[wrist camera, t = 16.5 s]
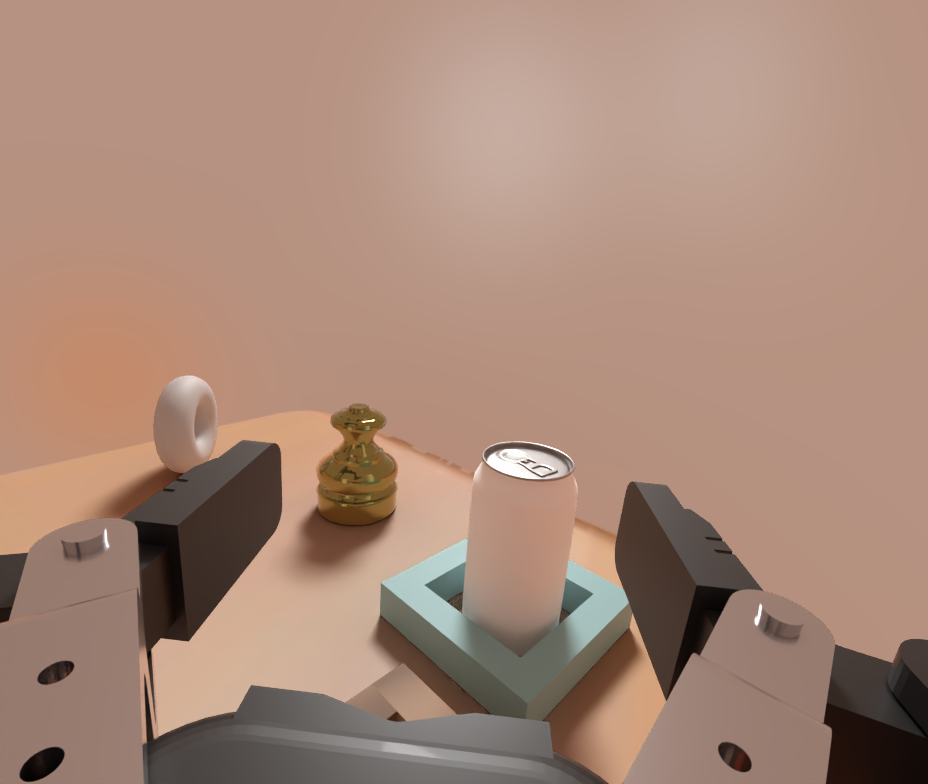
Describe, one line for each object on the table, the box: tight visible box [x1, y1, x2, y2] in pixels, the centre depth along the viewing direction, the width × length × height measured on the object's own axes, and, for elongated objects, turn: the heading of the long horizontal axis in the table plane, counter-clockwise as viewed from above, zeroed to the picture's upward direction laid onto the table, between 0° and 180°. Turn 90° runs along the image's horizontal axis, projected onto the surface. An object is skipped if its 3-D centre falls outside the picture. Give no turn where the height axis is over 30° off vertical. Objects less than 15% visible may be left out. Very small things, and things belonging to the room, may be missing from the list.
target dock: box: [380, 538, 632, 721], centre depth 32 cm, size 12×12×2 cm
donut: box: [153, 375, 218, 473], centre depth 49 cm, size 10×4×10 cm, turn 9°
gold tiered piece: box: [316, 404, 398, 525], centre depth 45 cm, size 7×7×10 cm
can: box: [462, 442, 578, 657], centre depth 31 cm, size 6×6×12 cm
